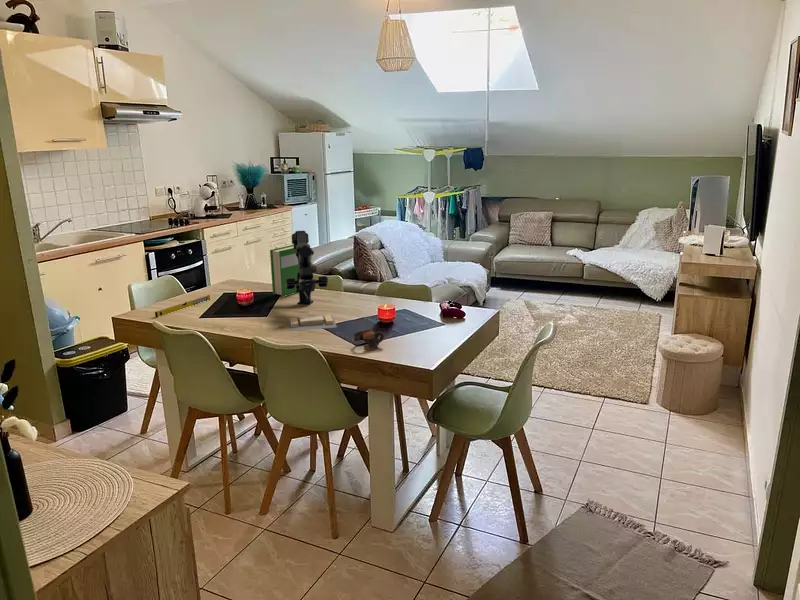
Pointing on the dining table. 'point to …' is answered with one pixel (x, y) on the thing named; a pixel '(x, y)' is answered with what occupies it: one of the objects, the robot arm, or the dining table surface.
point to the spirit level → (181, 306)
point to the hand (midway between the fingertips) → (308, 298)
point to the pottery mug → (369, 338)
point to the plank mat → (295, 325)
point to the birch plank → (311, 320)
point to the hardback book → (283, 269)
